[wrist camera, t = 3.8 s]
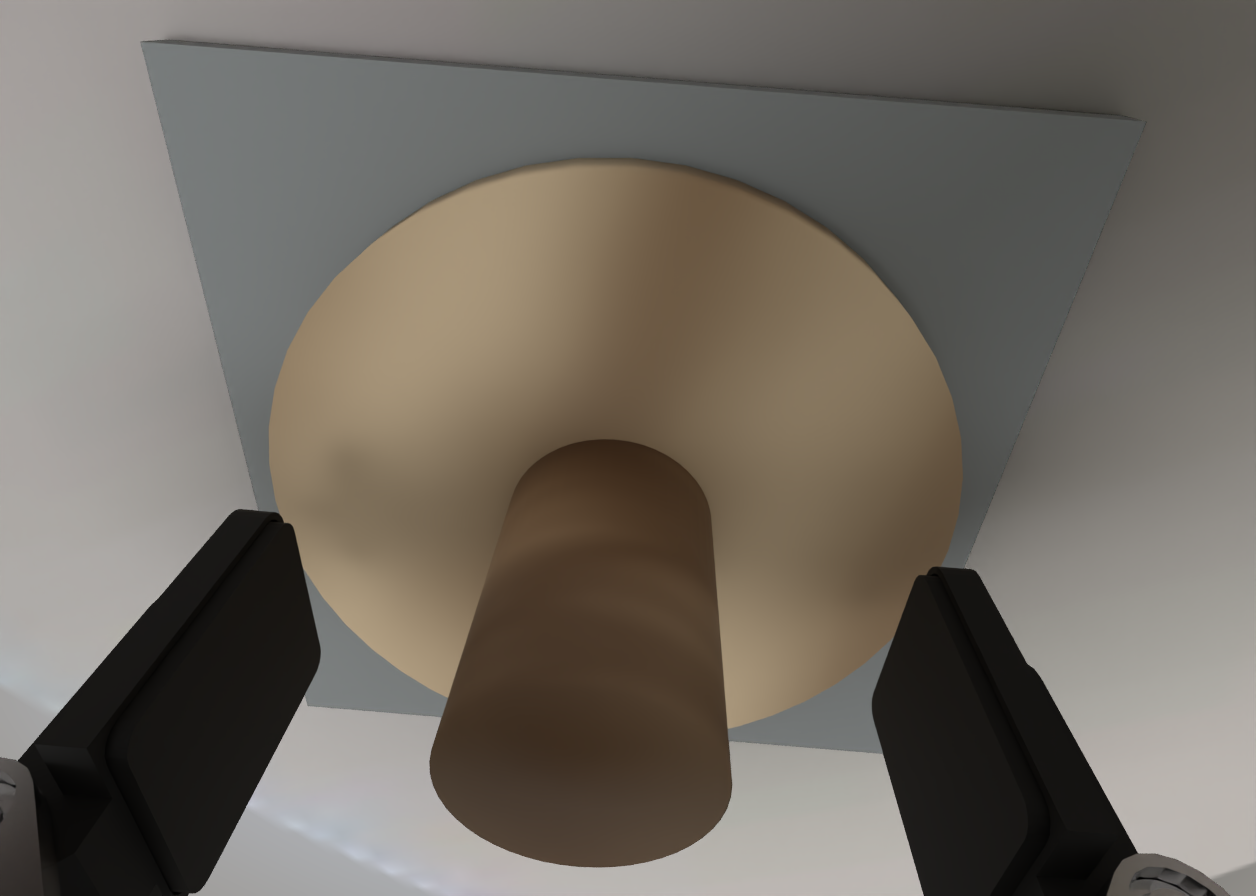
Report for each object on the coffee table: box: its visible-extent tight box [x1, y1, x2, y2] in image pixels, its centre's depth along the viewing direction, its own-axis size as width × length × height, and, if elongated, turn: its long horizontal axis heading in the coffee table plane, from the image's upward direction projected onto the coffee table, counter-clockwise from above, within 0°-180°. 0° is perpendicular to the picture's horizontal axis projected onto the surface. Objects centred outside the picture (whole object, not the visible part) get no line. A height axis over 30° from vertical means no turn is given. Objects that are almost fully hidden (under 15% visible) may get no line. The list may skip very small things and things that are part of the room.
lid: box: [269, 158, 963, 867], centre depth 11 cm, size 12×12×6 cm
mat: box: [141, 40, 1146, 754], centre depth 14 cm, size 14×14×1 cm
